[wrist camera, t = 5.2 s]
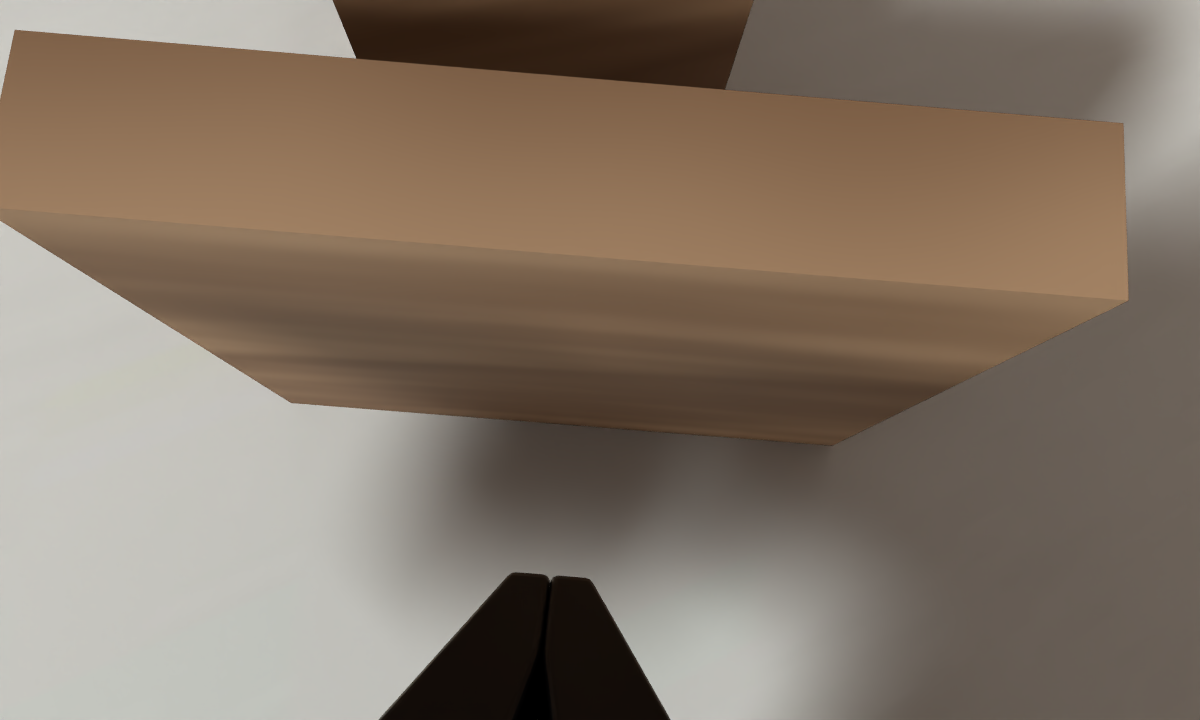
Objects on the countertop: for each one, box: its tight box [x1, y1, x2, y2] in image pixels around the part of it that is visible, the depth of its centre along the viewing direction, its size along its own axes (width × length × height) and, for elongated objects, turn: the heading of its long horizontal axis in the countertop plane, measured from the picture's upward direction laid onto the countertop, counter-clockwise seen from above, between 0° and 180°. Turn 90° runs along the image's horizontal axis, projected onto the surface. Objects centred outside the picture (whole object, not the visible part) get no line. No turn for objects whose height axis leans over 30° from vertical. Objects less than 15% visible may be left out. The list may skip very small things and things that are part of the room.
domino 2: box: [0, 30, 1129, 446], centre depth 14 cm, size 2×10×10 cm, turn 85°
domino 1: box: [333, 0, 754, 90], centre depth 14 cm, size 2×5×10 cm, turn 102°
